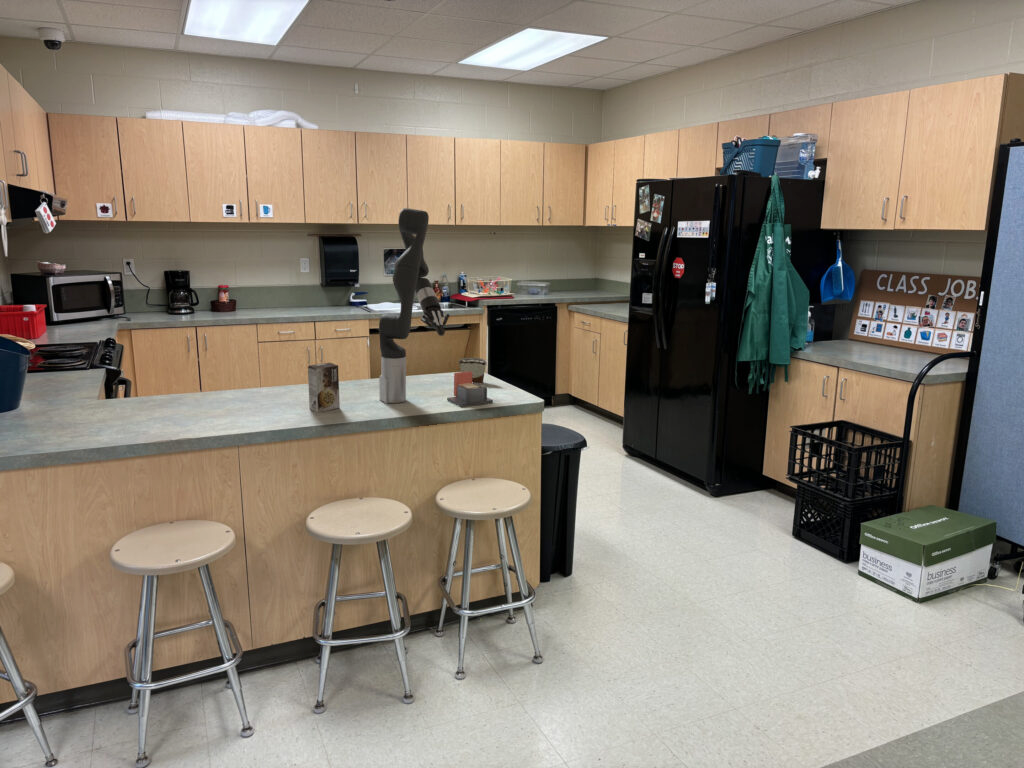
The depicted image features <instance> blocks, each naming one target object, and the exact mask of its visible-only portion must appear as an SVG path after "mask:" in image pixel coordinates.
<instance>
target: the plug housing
mask: <svg viewBox="0 0 1024 768" xmlns="http://www.w3.org/2000/svg"><path fill="white" fill-rule="evenodd" d="M473 384H474V385H477V386H479V388H473V389H468V388H466V387H463V386H461V385H458V386H457V397H456V396H450V397H447V398H446V401H447V400H448V401H447V402H449V401H450V402H449V403H451V402H452V404H453V403H454V405H455V404H456V406H457V405H458V406H457V407H460V408H465V407H466V408H467V406H468V407H473V406H481V405H488V403H489V404H494V399H491V398H489V397H488V387H487V386H484V385H483V384H482V385H481V384H478V383H473Z"/></svg>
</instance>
